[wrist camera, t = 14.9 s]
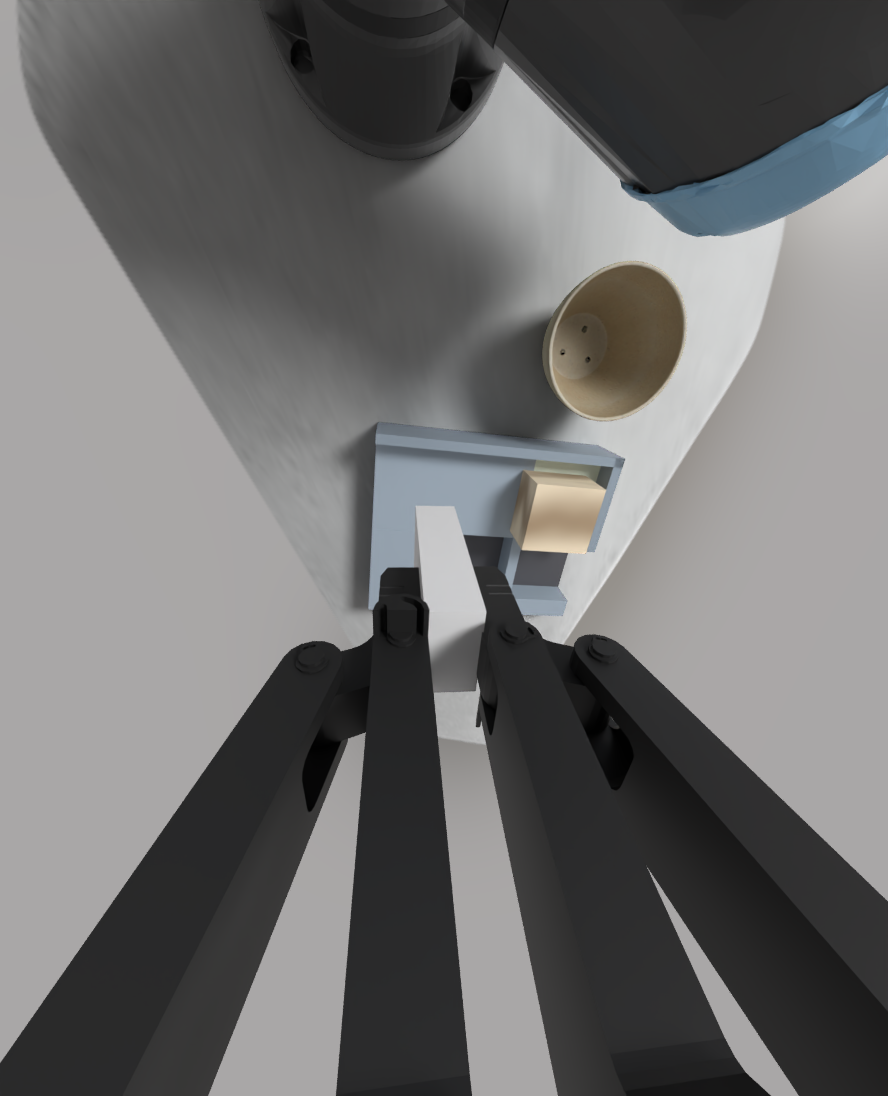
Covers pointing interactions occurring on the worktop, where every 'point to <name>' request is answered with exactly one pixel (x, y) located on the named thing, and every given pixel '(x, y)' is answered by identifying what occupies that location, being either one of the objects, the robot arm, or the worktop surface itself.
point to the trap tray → (476, 501)
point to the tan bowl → (615, 341)
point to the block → (556, 512)
